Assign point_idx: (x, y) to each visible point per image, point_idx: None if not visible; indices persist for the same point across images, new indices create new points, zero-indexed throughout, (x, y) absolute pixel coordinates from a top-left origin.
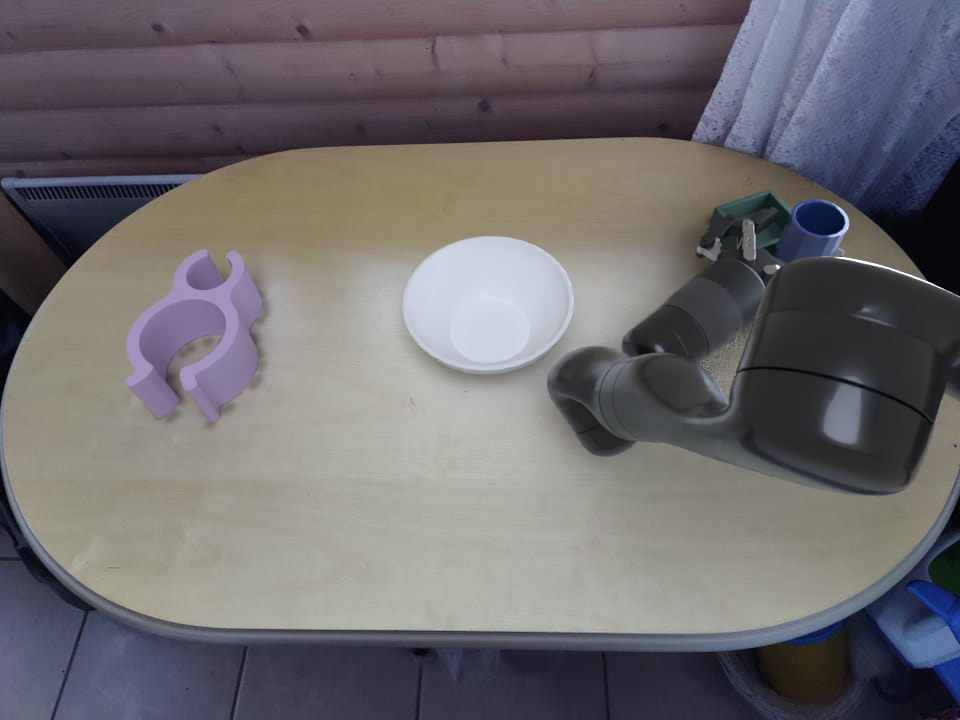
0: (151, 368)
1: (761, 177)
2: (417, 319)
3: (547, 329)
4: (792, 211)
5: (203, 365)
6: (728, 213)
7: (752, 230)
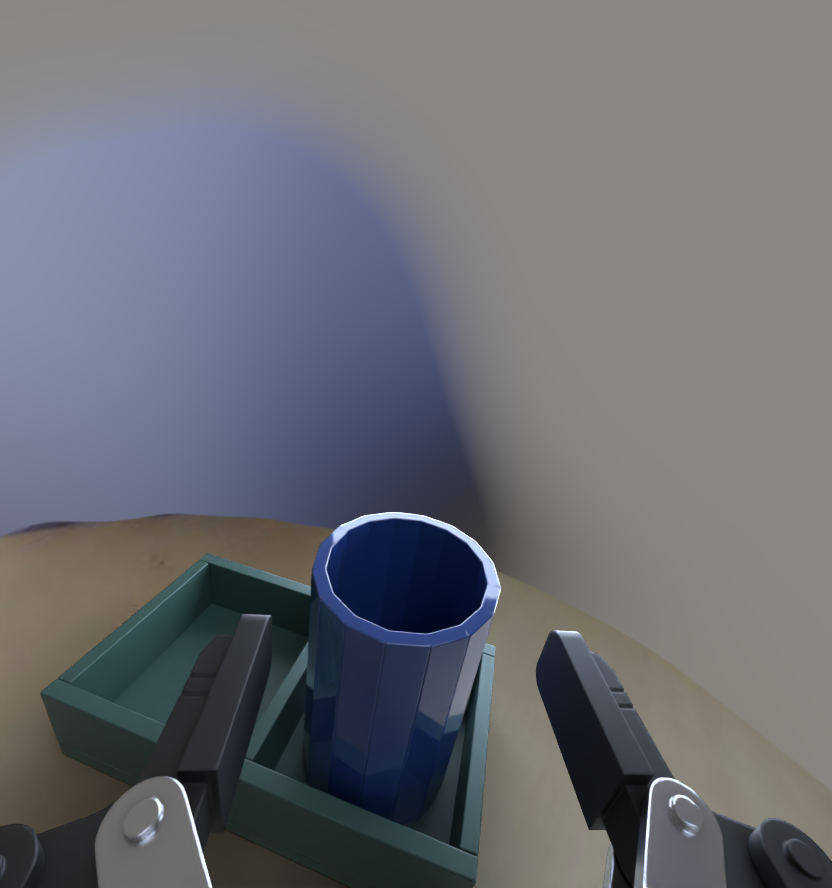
0: None
1: (180, 543)
2: None
3: None
4: (321, 589)
5: None
6: (112, 674)
7: (194, 869)
